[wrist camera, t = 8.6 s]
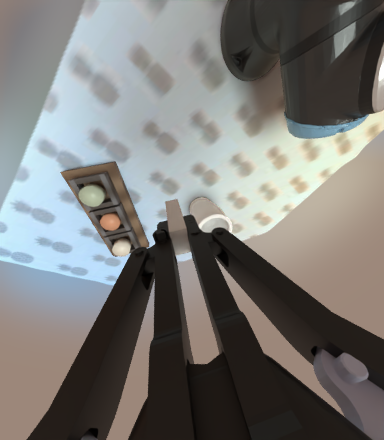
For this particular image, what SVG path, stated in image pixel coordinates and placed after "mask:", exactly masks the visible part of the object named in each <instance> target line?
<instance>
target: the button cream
mask: <svg viewBox="0 0 384 440" xmlns="http://www.w3.org/2000/svg"><path fill="white" fill-rule="evenodd" d="M130 248H131V242H130V241H129V240H128V239H125V238H120V239H118V240H116V241H115V243H114V246H113V248H112V252H113V253H114V254H115V255H117V256H126V255H128V254H129V252H130Z"/></svg>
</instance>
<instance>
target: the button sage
mask: <svg viewBox="0 0 384 440" xmlns="http://www.w3.org/2000/svg"><path fill="white" fill-rule="evenodd" d="M105 198H106V192H105V190H104V189H103V188H102V187H101V186H99V185H97V184H88V185H87V186H85V187H84V188H82V189H81V190H80V191H79V199H80V200H81V202H82V203H84V204H85V205H87V206H91V207H96V206H99V205H100V204H101V203H102V202H103V201H104V199H105Z"/></svg>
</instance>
